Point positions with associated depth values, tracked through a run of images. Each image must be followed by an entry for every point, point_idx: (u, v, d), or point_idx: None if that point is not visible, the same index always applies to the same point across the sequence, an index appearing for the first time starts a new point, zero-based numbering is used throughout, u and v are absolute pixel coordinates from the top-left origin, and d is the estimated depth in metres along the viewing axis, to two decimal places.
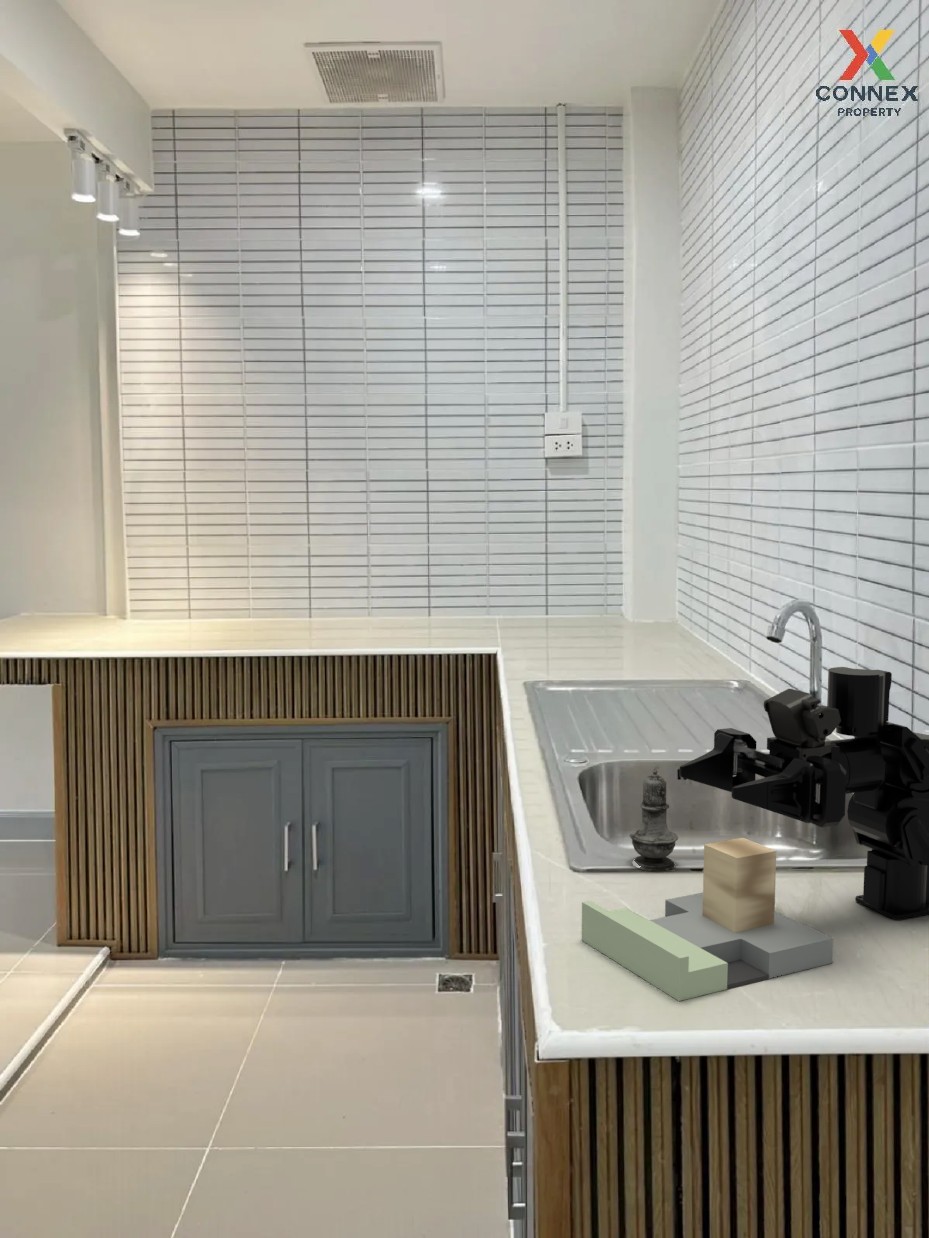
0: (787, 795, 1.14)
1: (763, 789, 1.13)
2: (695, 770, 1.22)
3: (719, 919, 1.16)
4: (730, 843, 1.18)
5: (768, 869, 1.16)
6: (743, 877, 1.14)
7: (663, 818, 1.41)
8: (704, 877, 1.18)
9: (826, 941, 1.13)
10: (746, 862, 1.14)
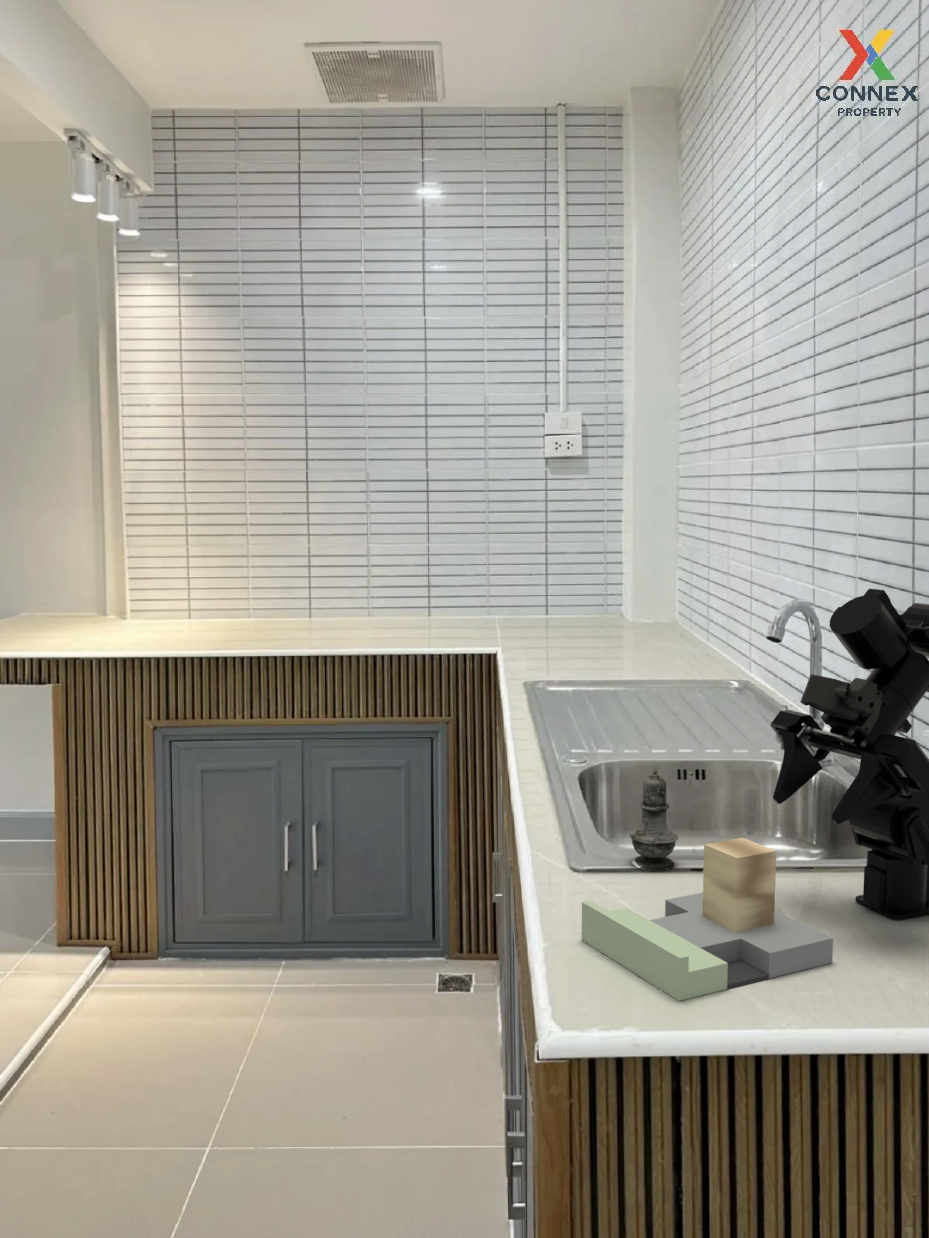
0: (876, 784, 1.17)
1: (856, 800, 1.16)
2: (786, 788, 1.24)
3: (719, 919, 1.16)
4: (730, 843, 1.18)
5: (768, 869, 1.16)
6: (743, 877, 1.14)
7: (663, 818, 1.41)
8: (704, 877, 1.18)
9: (826, 941, 1.13)
10: (746, 862, 1.14)
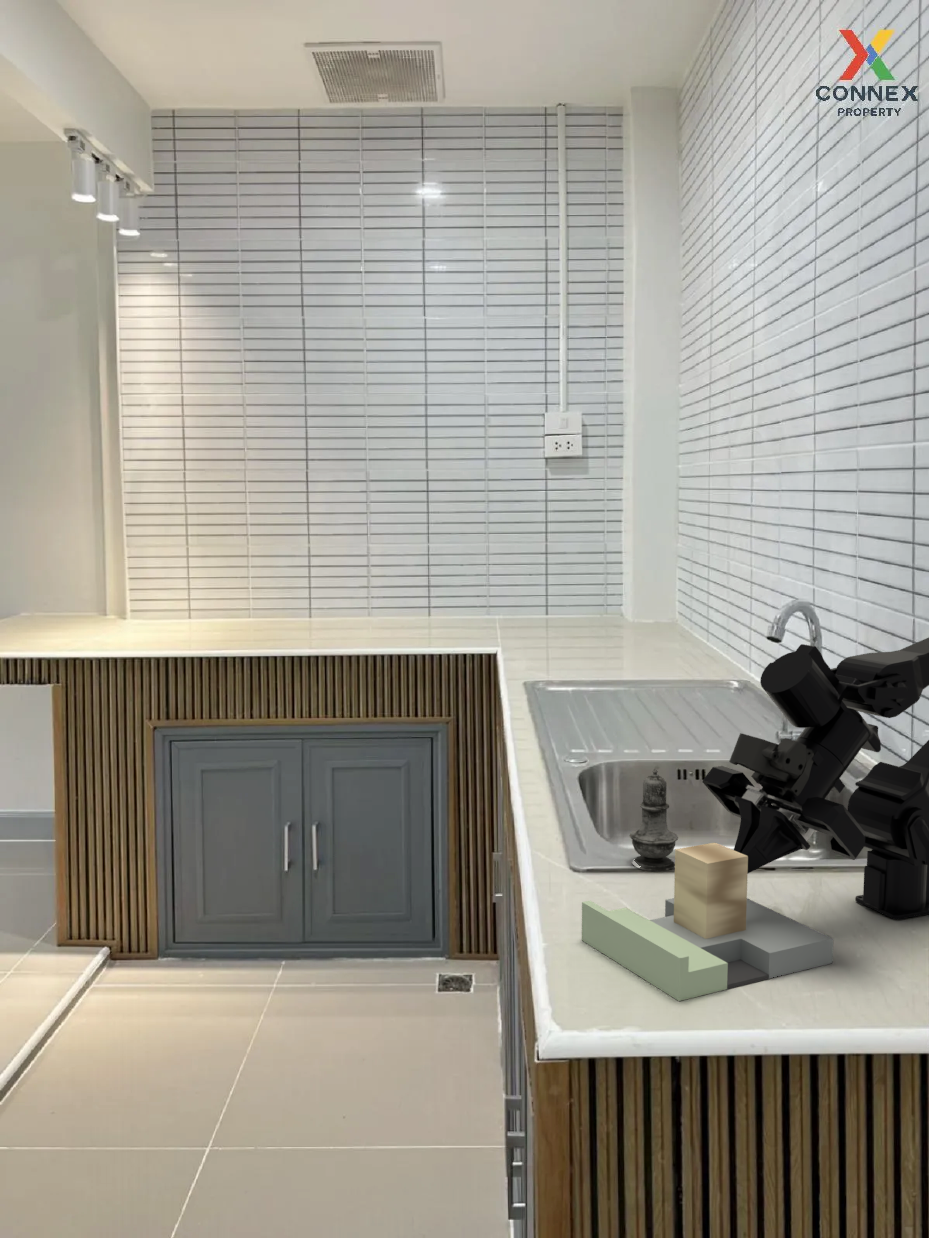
0: (776, 838, 1.17)
1: (755, 854, 1.16)
2: None
3: (690, 925, 1.15)
4: (701, 848, 1.16)
5: (739, 875, 1.14)
6: (714, 882, 1.13)
7: (663, 818, 1.41)
8: (675, 882, 1.17)
9: (826, 941, 1.13)
10: (717, 867, 1.13)
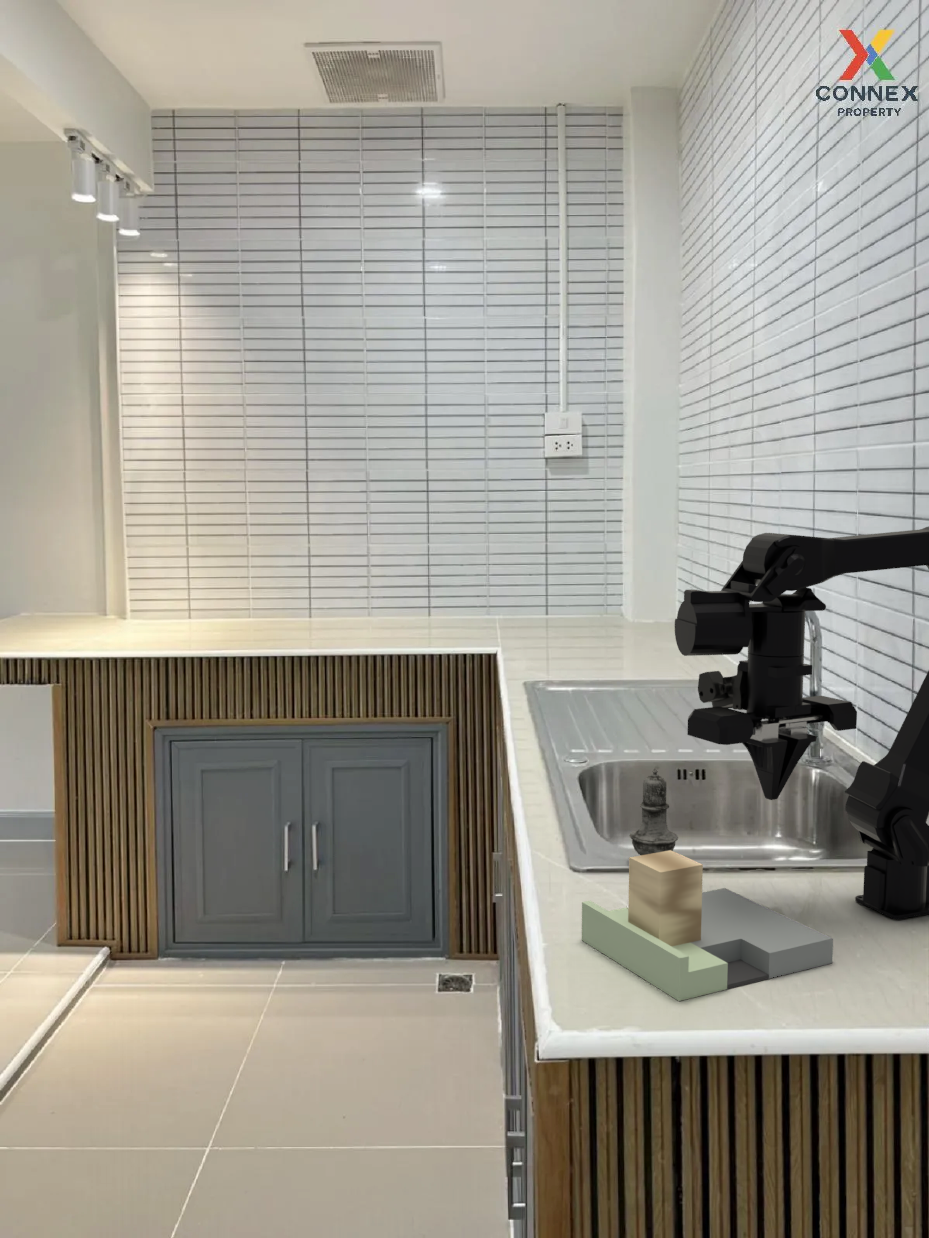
0: (766, 749, 1.22)
1: (760, 773, 1.23)
2: None
3: None
4: (656, 856, 1.14)
5: (694, 884, 1.11)
6: (667, 892, 1.10)
7: (663, 818, 1.41)
8: (629, 891, 1.14)
9: (826, 941, 1.13)
10: (671, 876, 1.10)
